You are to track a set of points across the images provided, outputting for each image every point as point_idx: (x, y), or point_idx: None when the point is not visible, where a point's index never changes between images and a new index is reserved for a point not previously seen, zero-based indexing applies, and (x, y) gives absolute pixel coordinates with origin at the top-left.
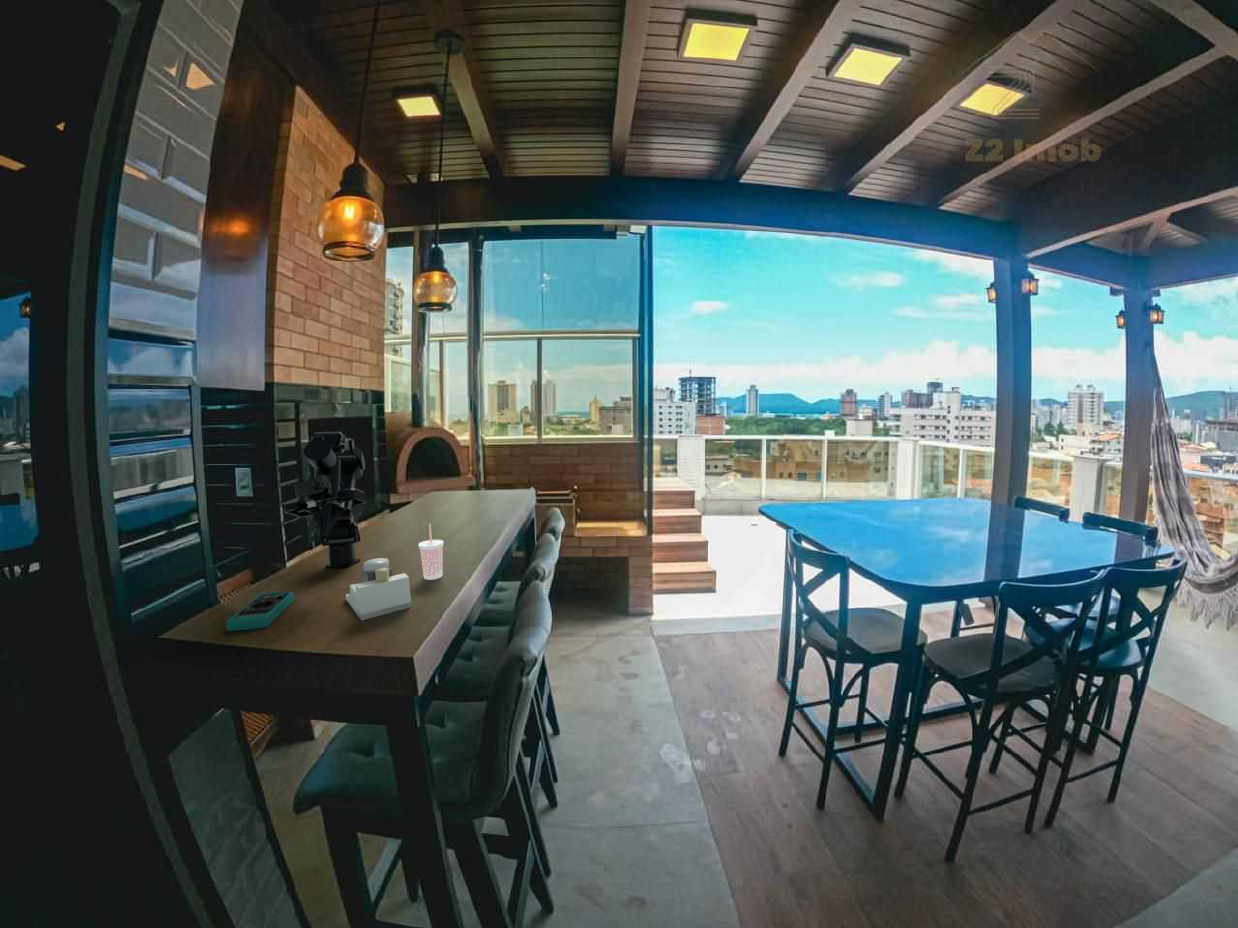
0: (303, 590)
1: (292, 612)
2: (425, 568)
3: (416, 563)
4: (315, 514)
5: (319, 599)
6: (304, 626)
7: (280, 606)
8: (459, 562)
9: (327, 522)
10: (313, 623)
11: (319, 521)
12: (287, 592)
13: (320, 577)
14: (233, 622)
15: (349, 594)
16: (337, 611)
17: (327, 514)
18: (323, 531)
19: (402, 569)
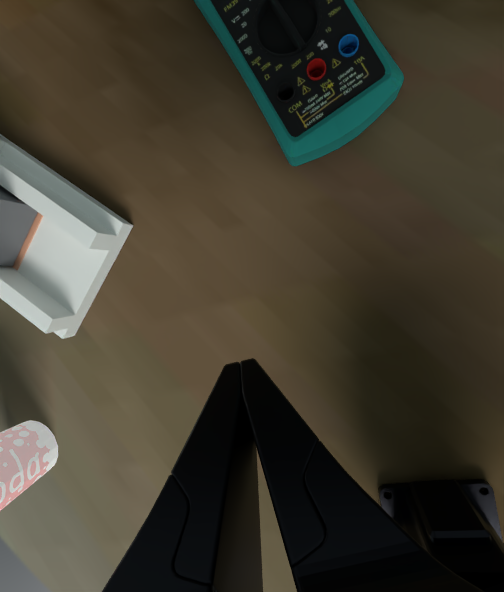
0: (343, 247)
1: (207, 91)
2: (1, 437)
3: None
4: (388, 581)
5: (214, 200)
6: (92, 39)
7: (235, 61)
8: (42, 570)
9: (180, 460)
10: (86, 63)
11: (283, 458)
12: (301, 137)
13: (399, 374)
14: None
15: (113, 228)
16: (90, 149)
17: (126, 573)
18: (232, 377)
19: None
